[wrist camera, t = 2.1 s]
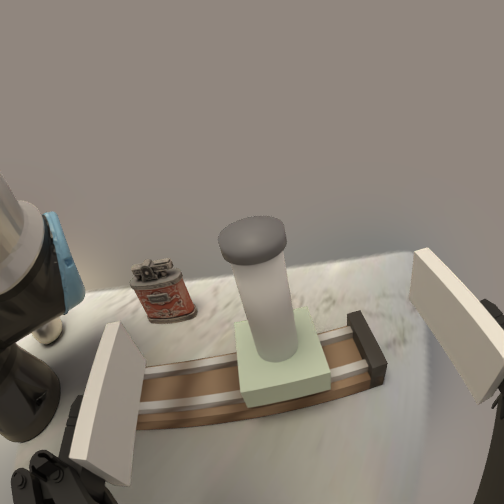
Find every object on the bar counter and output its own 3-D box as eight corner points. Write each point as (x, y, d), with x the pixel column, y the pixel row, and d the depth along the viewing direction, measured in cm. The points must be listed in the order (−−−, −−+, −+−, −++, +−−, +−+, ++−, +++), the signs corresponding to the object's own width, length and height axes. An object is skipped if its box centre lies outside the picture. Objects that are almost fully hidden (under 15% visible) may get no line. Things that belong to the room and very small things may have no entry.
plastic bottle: (69, 320, 49) (16, 227, 38) (62, 345, 43) (-1, 247, 33) (45, 327, 48) (-9, 240, 37) (37, 352, 42) (-26, 260, 32)
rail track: (120, 430, 29) (101, 413, 27) (128, 378, 36) (114, 360, 34) (382, 384, 28) (387, 363, 26) (358, 333, 35) (360, 310, 33)
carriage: (247, 407, 26) (192, 281, 18) (240, 340, 34) (199, 218, 26) (330, 389, 26) (323, 251, 18) (309, 325, 34) (291, 196, 26)
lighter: (147, 325, 44) (119, 273, 39) (152, 310, 47) (126, 259, 42) (195, 320, 43) (171, 264, 38) (198, 305, 46) (177, 250, 41)
